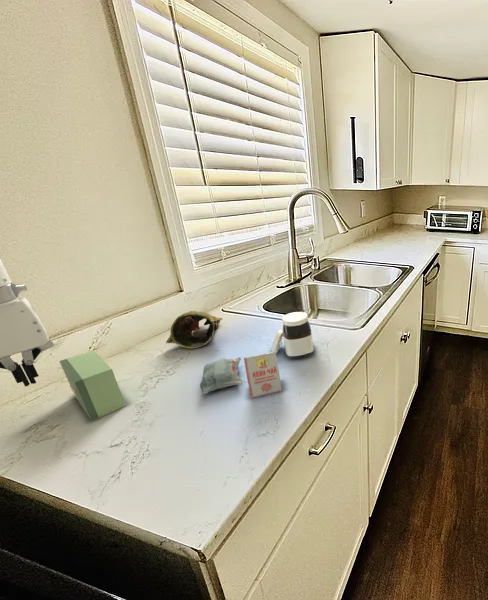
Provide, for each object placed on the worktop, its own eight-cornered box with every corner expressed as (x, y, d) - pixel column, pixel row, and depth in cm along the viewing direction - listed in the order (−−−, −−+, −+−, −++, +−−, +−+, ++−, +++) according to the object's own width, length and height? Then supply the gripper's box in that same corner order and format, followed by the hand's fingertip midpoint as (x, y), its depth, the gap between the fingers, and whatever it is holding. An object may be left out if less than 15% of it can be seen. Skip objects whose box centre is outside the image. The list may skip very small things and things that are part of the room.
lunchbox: (89, 422, 69) (71, 383, 65) (73, 398, 77) (56, 361, 73) (126, 406, 74) (111, 368, 70) (107, 385, 82) (93, 350, 78)
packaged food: (242, 366, 89) (238, 350, 87) (243, 390, 79) (239, 373, 77) (206, 374, 85) (201, 358, 84) (202, 401, 75) (197, 383, 74)
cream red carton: (251, 390, 79) (244, 354, 75) (280, 383, 81) (274, 348, 78) (251, 399, 76) (243, 361, 72) (282, 391, 78) (275, 355, 75)
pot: (227, 298, 113) (210, 300, 95) (242, 327, 114) (228, 334, 97) (176, 320, 109) (149, 326, 92) (193, 349, 111) (169, 361, 93)
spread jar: (316, 357, 93) (312, 320, 88) (275, 367, 88) (268, 329, 84) (308, 340, 103) (304, 305, 99) (270, 348, 98) (264, 312, 94)
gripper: (40, 282, 66) (75, 360, 73) (-85, 306, 55) (-30, 395, 62) (47, 289, 62) (83, 371, 69) (-86, 316, 51) (-28, 410, 58)
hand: (29, 382), depth 65 cm, fingers closed
